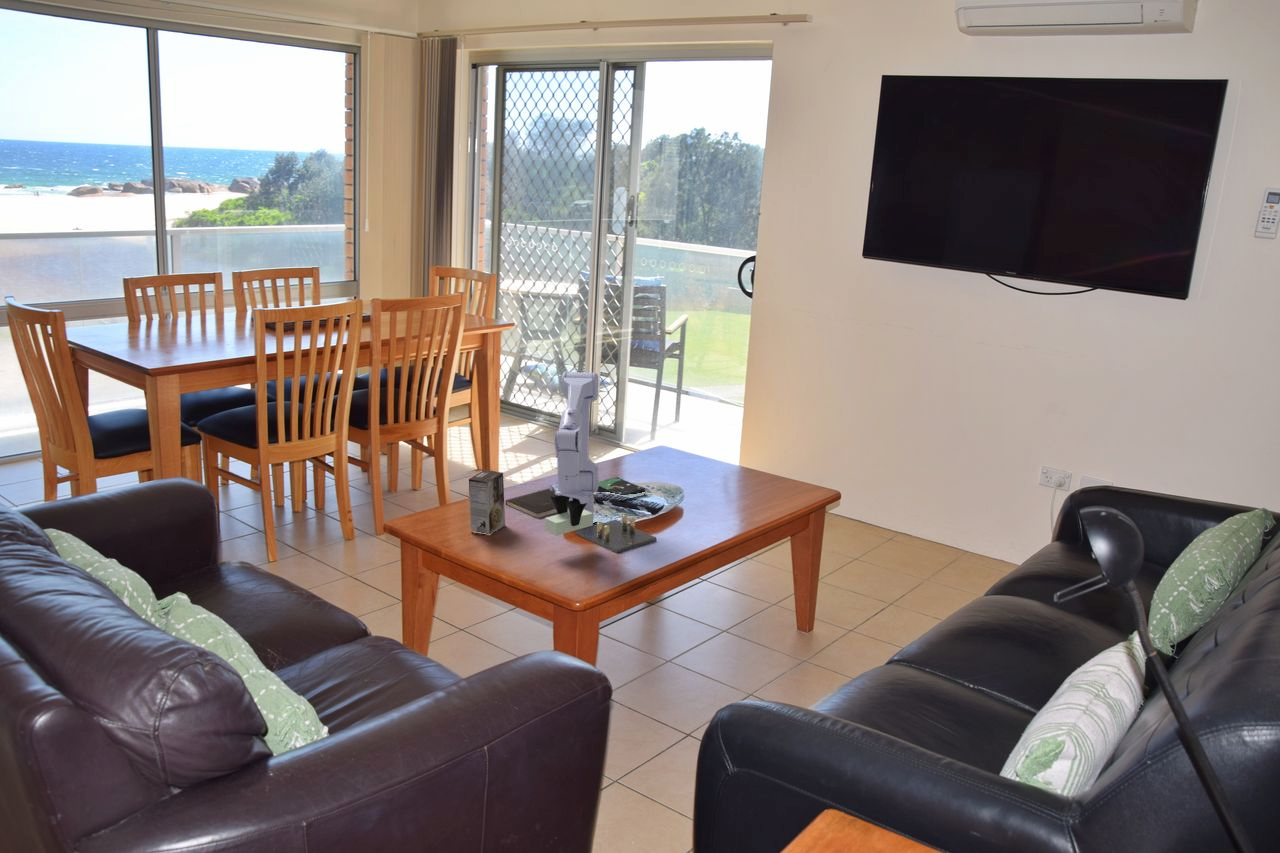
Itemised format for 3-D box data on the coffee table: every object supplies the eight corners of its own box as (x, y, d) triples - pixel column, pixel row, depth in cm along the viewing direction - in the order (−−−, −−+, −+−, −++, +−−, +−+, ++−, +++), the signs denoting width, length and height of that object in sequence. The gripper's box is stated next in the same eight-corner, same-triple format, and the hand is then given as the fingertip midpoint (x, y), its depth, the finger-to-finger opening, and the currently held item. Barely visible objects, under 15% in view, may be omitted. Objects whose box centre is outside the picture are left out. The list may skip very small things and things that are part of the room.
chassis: (576, 534, 289) (576, 517, 287) (615, 523, 297) (615, 506, 296) (616, 553, 275) (616, 535, 274) (656, 540, 284) (656, 523, 283)
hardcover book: (597, 502, 316) (597, 495, 315) (537, 520, 301) (537, 512, 300) (565, 490, 327) (565, 483, 327) (505, 506, 312) (505, 499, 312)
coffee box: (486, 522, 297) (484, 469, 293) (505, 525, 295) (504, 471, 291) (469, 533, 289) (467, 478, 285) (490, 536, 287) (488, 481, 283)
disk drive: (645, 497, 322) (616, 484, 333) (646, 488, 321) (617, 476, 332) (619, 503, 315) (590, 490, 327) (619, 494, 315) (591, 482, 326)
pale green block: (545, 530, 273) (545, 517, 272) (581, 520, 280) (581, 508, 279) (556, 535, 269) (556, 523, 268) (592, 525, 277) (592, 513, 276)
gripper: (540, 470, 274) (541, 518, 277) (572, 483, 263) (573, 533, 266) (561, 464, 278) (562, 512, 282) (594, 477, 267) (594, 527, 271)
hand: (569, 522), depth 274 cm, fingers closed on pale green block, 5 cm apart
